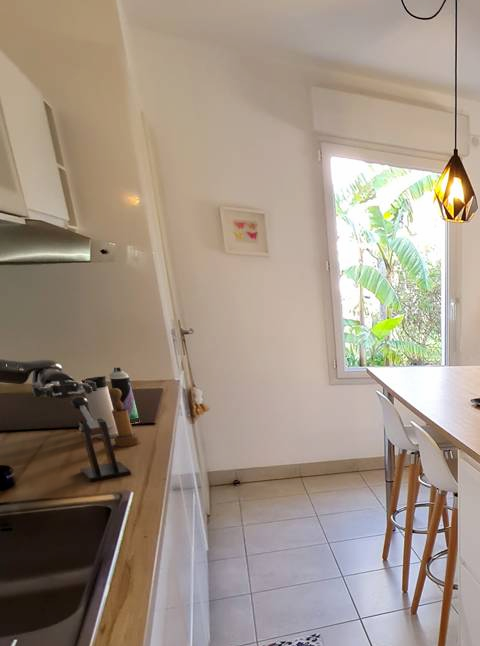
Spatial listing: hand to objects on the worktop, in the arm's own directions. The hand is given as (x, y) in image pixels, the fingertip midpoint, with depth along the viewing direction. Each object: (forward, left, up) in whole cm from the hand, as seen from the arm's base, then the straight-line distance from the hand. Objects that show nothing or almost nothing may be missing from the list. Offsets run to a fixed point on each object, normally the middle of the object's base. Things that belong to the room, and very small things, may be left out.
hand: (70, 392), depth 156 cm
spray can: (+20, +38, -20) cm, 47 cm away
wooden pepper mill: (+12, +8, -20) cm, 25 cm away
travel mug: (+10, +22, -20) cm, 31 cm away
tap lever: (0, -14, -6) cm, 15 cm away
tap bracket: (0, -20, -20) cm, 28 cm away
